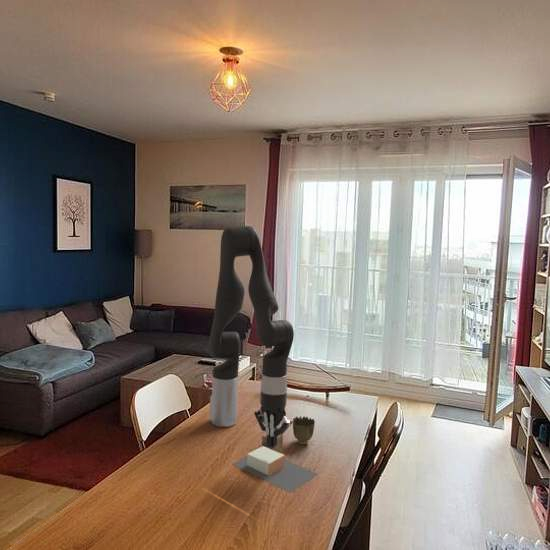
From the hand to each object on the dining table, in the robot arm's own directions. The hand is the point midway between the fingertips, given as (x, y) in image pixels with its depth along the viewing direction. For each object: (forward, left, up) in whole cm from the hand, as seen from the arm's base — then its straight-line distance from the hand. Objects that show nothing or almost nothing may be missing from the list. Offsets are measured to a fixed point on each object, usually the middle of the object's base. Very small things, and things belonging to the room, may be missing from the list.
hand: (271, 446), depth 133 cm
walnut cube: (-8, +10, -7) cm, 15 cm away
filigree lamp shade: (-3, +20, -7) cm, 21 cm away
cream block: (+2, 0, -5) cm, 5 cm away
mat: (+1, 0, -7) cm, 7 cm away
